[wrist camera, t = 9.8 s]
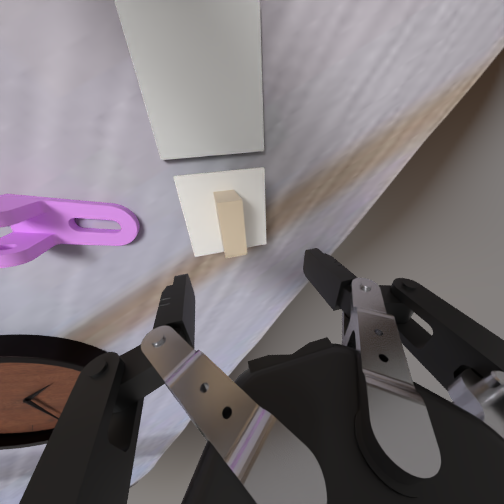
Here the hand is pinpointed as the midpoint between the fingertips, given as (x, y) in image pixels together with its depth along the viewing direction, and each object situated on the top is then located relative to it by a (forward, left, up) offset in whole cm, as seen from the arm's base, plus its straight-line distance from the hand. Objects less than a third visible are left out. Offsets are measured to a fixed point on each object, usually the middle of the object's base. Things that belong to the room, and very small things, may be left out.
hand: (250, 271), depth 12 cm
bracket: (0, -18, -18) cm, 26 cm away
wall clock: (+31, -42, -18) cm, 55 cm away
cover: (0, 0, -13) cm, 13 cm away
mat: (-13, 0, -18) cm, 22 cm away
